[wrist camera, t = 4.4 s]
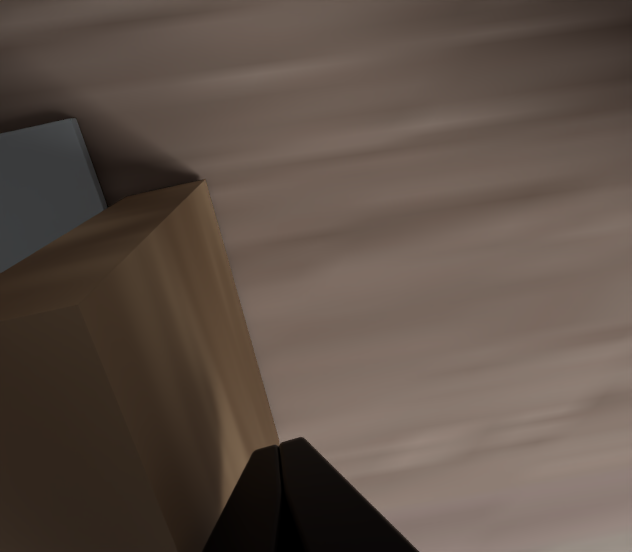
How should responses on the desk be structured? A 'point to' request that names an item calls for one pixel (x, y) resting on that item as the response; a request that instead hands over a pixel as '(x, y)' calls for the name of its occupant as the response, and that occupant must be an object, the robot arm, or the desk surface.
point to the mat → (44, 187)
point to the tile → (126, 382)
